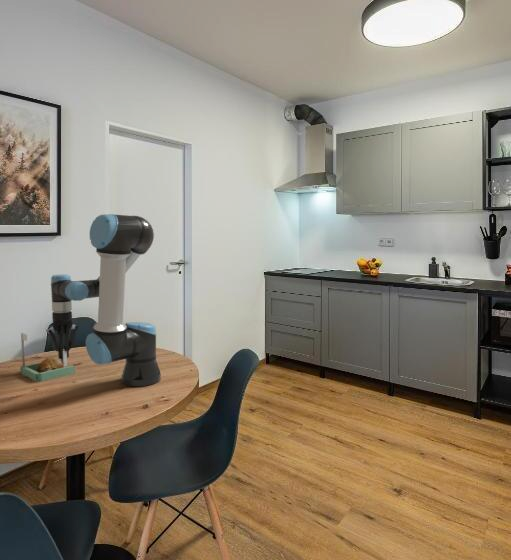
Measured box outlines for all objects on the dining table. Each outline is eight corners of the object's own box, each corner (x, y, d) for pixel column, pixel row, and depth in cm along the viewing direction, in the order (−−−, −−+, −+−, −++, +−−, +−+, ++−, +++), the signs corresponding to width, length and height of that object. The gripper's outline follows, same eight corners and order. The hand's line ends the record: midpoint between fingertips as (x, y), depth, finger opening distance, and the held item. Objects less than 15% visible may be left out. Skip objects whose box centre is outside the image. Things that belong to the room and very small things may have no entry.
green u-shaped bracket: (74, 373, 173) (73, 333, 172) (37, 382, 162) (35, 339, 160) (56, 365, 183) (55, 327, 182) (20, 373, 172) (18, 333, 170)
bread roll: (66, 379, 176) (70, 360, 179) (52, 376, 167) (57, 356, 170) (44, 377, 178) (49, 359, 180) (30, 374, 168) (34, 355, 171)
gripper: (72, 308, 183) (74, 360, 185) (42, 312, 173) (44, 367, 175) (81, 310, 178) (82, 364, 180) (50, 314, 168) (52, 371, 170)
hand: (63, 365), depth 178 cm, fingers closed
